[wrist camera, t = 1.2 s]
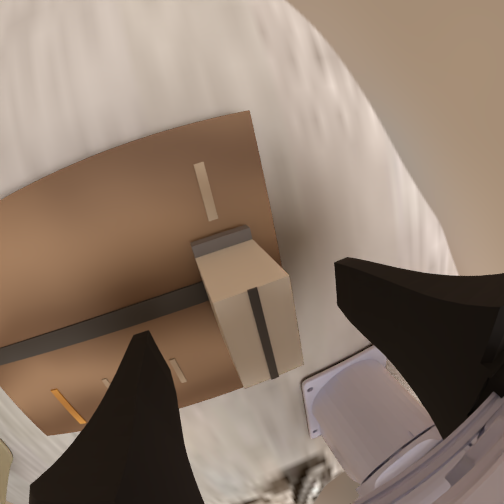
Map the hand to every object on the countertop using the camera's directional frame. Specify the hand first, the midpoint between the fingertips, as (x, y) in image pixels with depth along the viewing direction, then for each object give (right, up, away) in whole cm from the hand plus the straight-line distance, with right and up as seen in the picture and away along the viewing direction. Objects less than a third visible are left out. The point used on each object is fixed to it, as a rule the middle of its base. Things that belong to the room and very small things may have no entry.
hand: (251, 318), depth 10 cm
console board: (-8, 0, +3) cm, 8 cm away
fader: (-1, +1, +3) cm, 3 cm away
